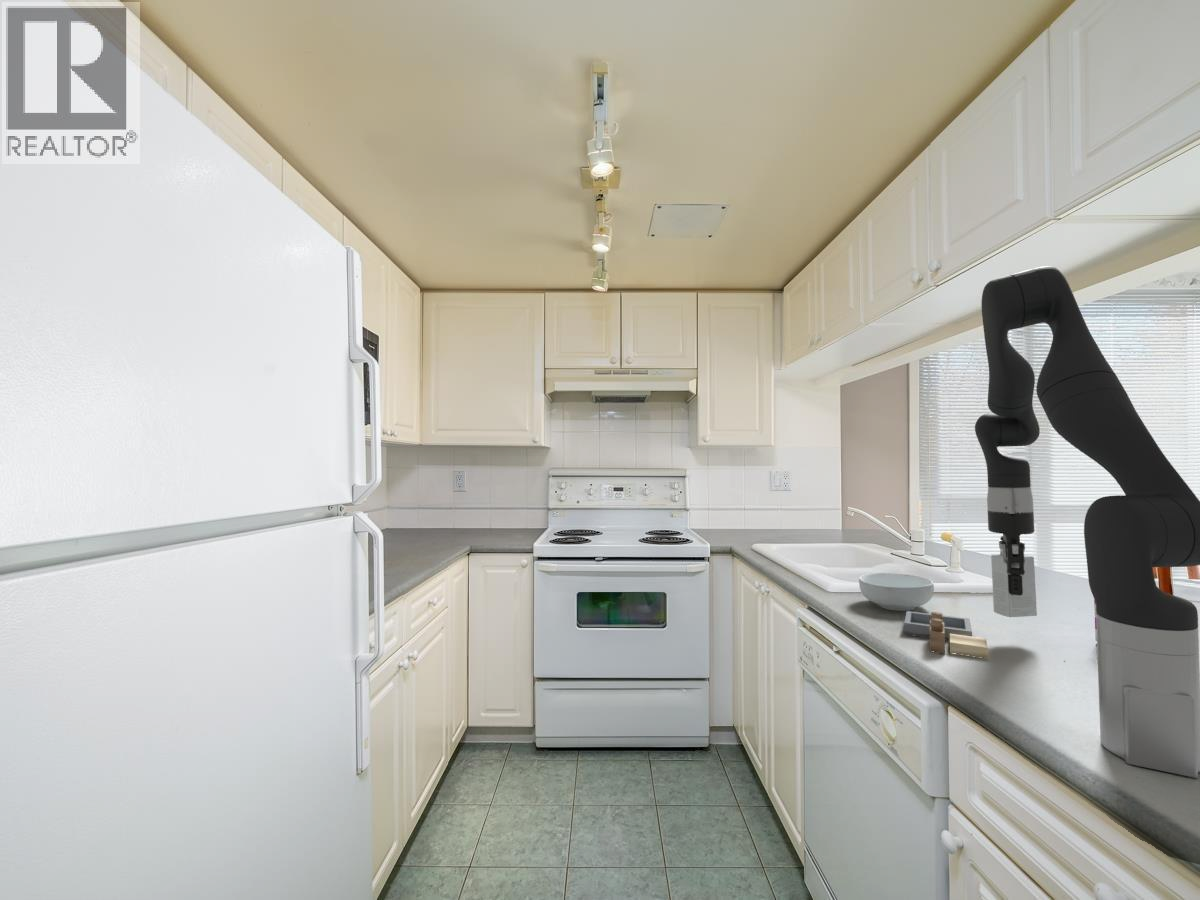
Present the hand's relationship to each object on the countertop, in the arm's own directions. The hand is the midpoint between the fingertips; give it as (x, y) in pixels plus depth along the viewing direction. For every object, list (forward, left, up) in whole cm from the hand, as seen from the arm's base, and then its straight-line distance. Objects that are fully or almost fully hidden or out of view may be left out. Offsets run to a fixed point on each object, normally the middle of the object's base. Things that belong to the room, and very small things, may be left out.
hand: (1013, 590), depth 109 cm
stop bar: (-10, +13, -11) cm, 20 cm away
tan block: (-10, +8, -11) cm, 17 cm away
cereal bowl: (+18, +22, -11) cm, 31 cm away
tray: (0, +13, -11) cm, 17 cm away
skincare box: (0, 0, -5) cm, 5 cm away
